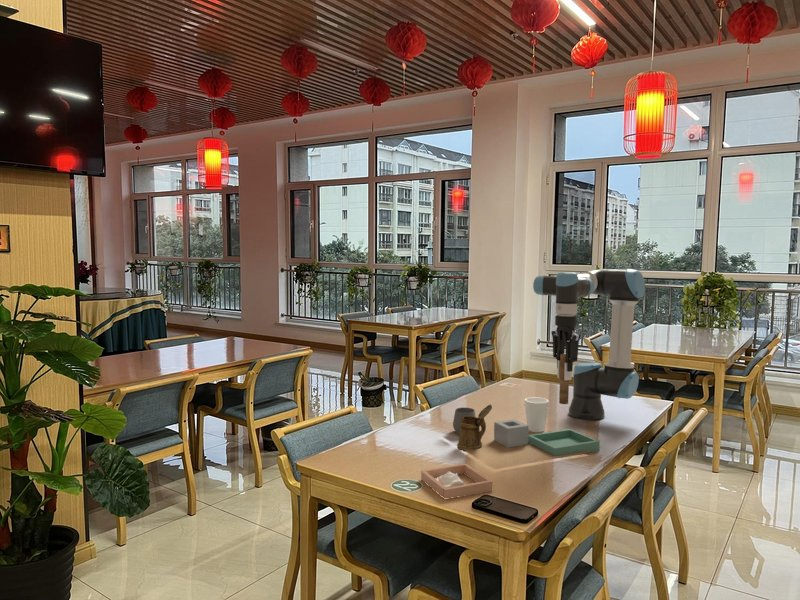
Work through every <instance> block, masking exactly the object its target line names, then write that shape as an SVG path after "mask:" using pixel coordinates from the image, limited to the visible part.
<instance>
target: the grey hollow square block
mask: <svg viewBox="0 0 800 600" xmlns="http://www.w3.org/2000/svg"><path fill="white" fill-rule="evenodd" d="M493 424H494V425H493V441H495V442H497V443H498V444H500V445H502V446H503V447H506V448H513V447H520V446H526V445H529V442H528V435H529V430H528V425H527V423H526V424H525V423H524V422H521V421H518V419H515V418H513V419H506V420H498V421H494V422H493Z"/></svg>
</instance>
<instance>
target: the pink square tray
mask: <svg viewBox="0 0 800 600" xmlns="http://www.w3.org/2000/svg"><path fill="white" fill-rule="evenodd" d="M420 472H421V473H420V478H421V479H422V480H423V481H424V482H426V483H427V484H428V485H429V486H431V487H432V488H433V489H434V490H435V491H437V492H438V493H439V494H440V495H441V496H443V497H444V498H451V497H457V496H464V495H469V496H472V495H471V494H474V495H478V494H477V493H480V494H484V493H483V492H485V493H489V491H490V492H493V483H494V482H493V480H492V479H490V478H489V477H487V476H486V475H485V474H483V473H481V472H480V471H479V470H477V469H476V468H474V467H472V466H471V465H470V464H468V463H466V462H464V463H458V464H452V465H447V466H440V467H434V468H429V469H422V470H420ZM447 472H451V473H454V474H456V473H457V474H461V475H465V474H466V475H465V476H467V475H468V476H469V477H468V476H467V477H468V478H470V477H471V478H472V479H473V481H474V480H475V481H476V482H475V481H474V482H472V483H467V484H465V483H464V485H460V486H454V487H449V488H446V487H445V486H443V485H442V484H441V483H440V482H438V481H437V480H436V479H435V478H437V477H440V476H441V475H445V474H446V473H447ZM463 473H465V474H463ZM471 478H470V479H471ZM472 479H471V480H472ZM422 480H421V481H422ZM423 481H422V482H423ZM424 482H423V483H424ZM429 486H428V487H429ZM435 491H434V492H435ZM464 497H465V496H464ZM444 498H443V499H444Z"/></svg>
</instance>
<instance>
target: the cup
mask: <svg viewBox="0 0 800 600" xmlns="http://www.w3.org/2000/svg"><path fill="white" fill-rule="evenodd" d="M464 416H474V417H477V415H476V410H475V409H474V408H473V407H472V408H471V407H458V408H455V410H454V417H453V421H452V427H453V430H454V431H455V433H456V435H460V428H461V426H460V423H461V421H462V417H464Z"/></svg>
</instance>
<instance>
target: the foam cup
mask: <svg viewBox="0 0 800 600" xmlns="http://www.w3.org/2000/svg"><path fill="white" fill-rule="evenodd" d="M549 402H550V401H549V399H548V398H544V397H538V396H531V397H526V398H524V407H525V416H526V425H528V432H533V433H544V431H545V430H546V429H545V428H546V424H547V417H548V411H549V406H550V403H549Z"/></svg>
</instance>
